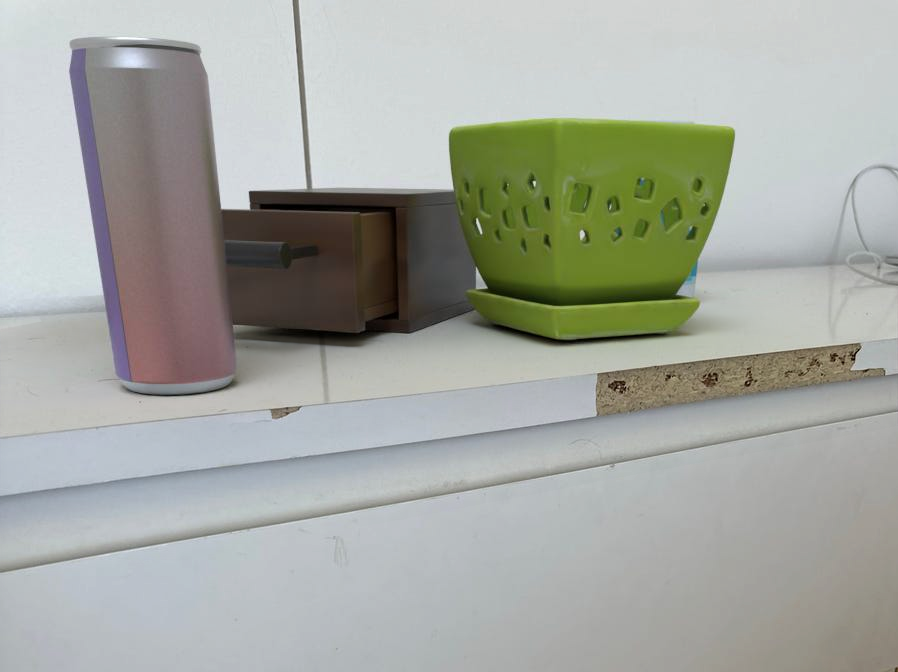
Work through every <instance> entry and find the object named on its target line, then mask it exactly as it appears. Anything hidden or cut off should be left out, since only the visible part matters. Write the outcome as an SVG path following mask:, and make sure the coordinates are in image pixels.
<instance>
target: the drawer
mask: <svg viewBox="0 0 898 672" xmlns="http://www.w3.org/2000/svg"><path fill="white" fill-rule="evenodd" d="M221 212H222V222H223V232H224V242H225V252H226V262H227V272H228V282H229V292H230V302H231V312H232V322H233V326H247V327H260V328H261V327H263V328H278V329H292V330H305V331H307V330H308V331H323V332H337V333H338V332H340V333H354V334H358V333H360V332H364V331H366V330H365V321H368V320H372V319H375V318H378V317H381V316H385V315H388V314H391V313H394V312H397V311H399V306H398V269H397V232H396V208H358V207H316V206H305V207H291V208H276V209H262V210H250V208H248V209H247V208H246V209H245V208H221Z"/></svg>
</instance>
